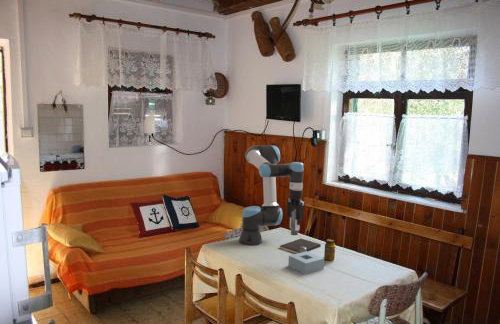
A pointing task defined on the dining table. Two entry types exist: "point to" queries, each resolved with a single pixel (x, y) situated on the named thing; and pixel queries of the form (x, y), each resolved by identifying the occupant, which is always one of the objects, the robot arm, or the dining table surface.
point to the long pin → (293, 223)
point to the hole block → (306, 262)
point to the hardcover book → (299, 245)
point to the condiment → (329, 251)
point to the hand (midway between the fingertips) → (294, 229)
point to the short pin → (303, 249)
